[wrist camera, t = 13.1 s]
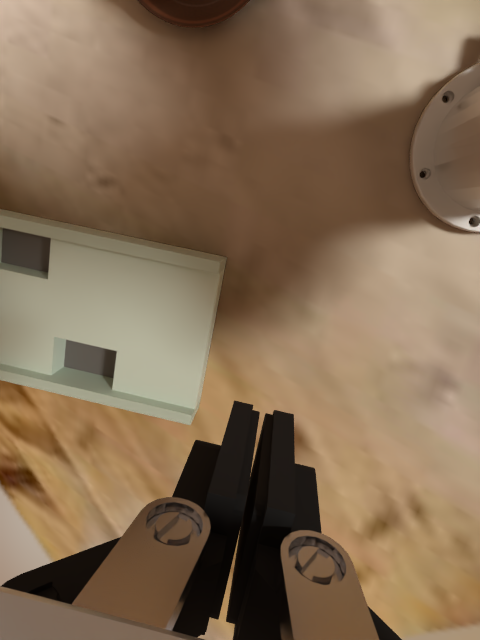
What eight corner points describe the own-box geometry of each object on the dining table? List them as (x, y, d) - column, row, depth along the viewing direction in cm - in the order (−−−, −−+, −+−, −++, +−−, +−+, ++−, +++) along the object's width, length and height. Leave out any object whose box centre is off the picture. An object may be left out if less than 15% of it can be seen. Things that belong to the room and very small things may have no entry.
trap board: (226, 257, 38) (220, 262, 34) (198, 406, 42) (190, 425, 38) (-46, 199, 39) (-80, 197, 35) (-48, 348, 43) (-78, 361, 40)
